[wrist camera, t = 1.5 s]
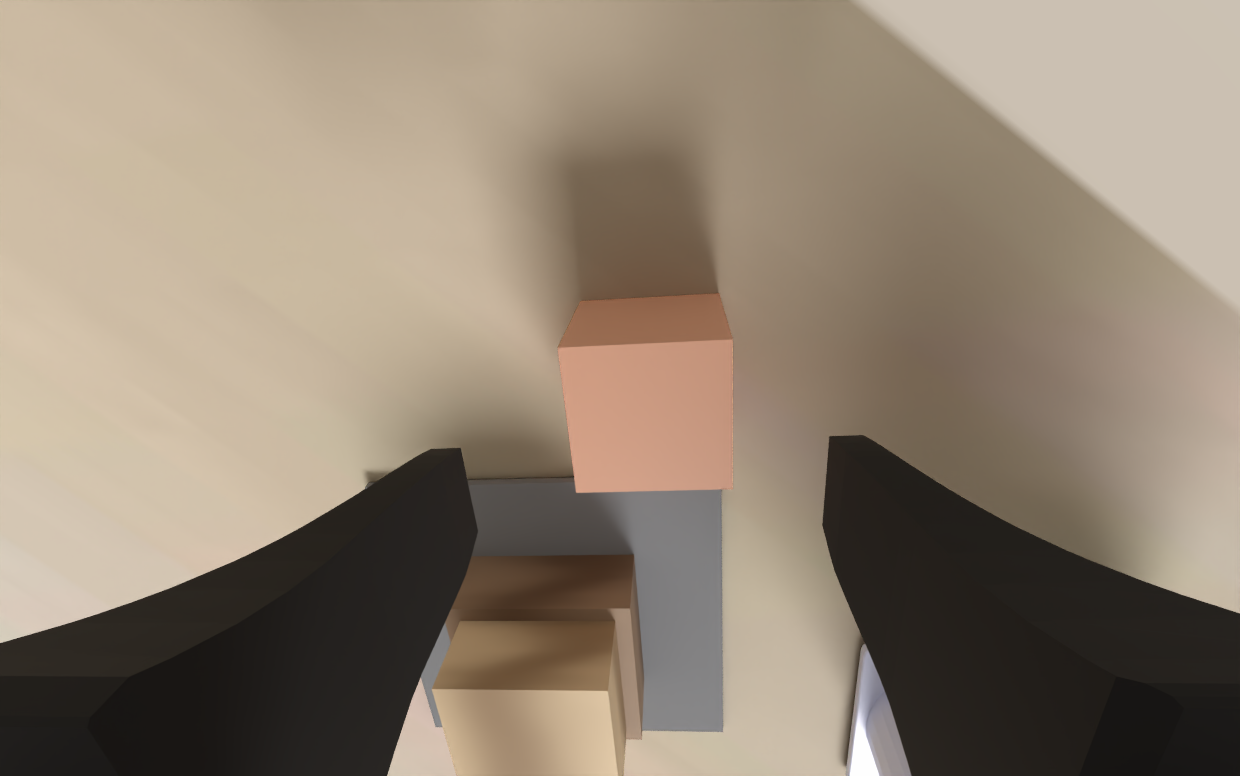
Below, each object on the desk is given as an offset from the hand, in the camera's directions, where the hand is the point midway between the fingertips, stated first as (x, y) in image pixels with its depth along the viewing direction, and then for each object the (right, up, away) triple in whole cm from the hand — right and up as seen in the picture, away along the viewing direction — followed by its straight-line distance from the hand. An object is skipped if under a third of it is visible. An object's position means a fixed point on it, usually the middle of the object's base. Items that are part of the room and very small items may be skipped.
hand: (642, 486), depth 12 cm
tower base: (-3, -7, +10) cm, 13 cm away
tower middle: (-3, -8, +8) cm, 12 cm away
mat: (-3, -7, +11) cm, 13 cm away
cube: (+1, +3, +6) cm, 7 cm away
